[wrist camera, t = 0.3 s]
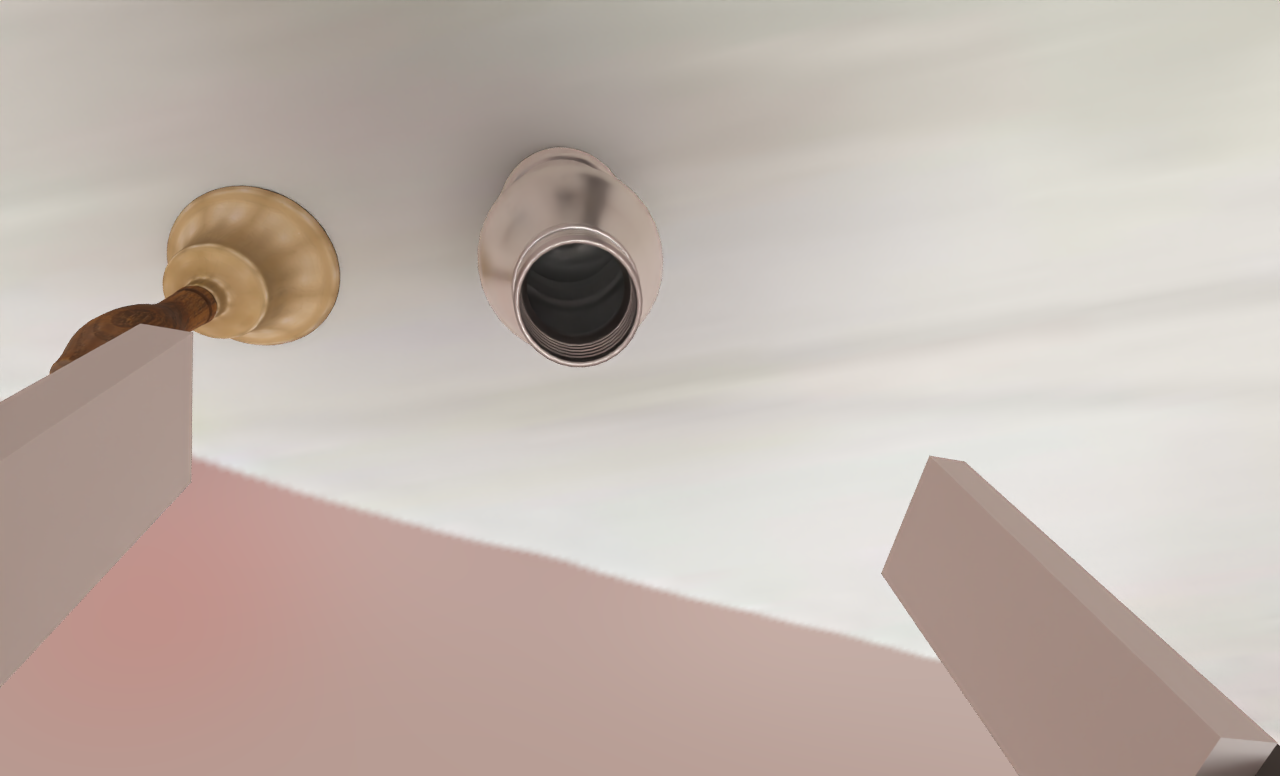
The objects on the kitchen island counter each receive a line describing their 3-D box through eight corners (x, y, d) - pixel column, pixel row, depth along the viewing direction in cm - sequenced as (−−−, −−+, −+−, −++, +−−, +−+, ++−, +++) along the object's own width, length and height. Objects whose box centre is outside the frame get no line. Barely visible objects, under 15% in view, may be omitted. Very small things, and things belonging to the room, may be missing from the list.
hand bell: (356, 334, 40) (244, 469, 25) (198, 353, 39) (-14, 503, 24) (318, 177, 37) (163, 223, 22) (145, 194, 36) (-134, 255, 21)
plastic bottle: (521, 286, 40) (501, 442, 21) (484, 160, 37) (424, 212, 19) (635, 257, 40) (714, 387, 21) (606, 130, 37) (667, 152, 19)
